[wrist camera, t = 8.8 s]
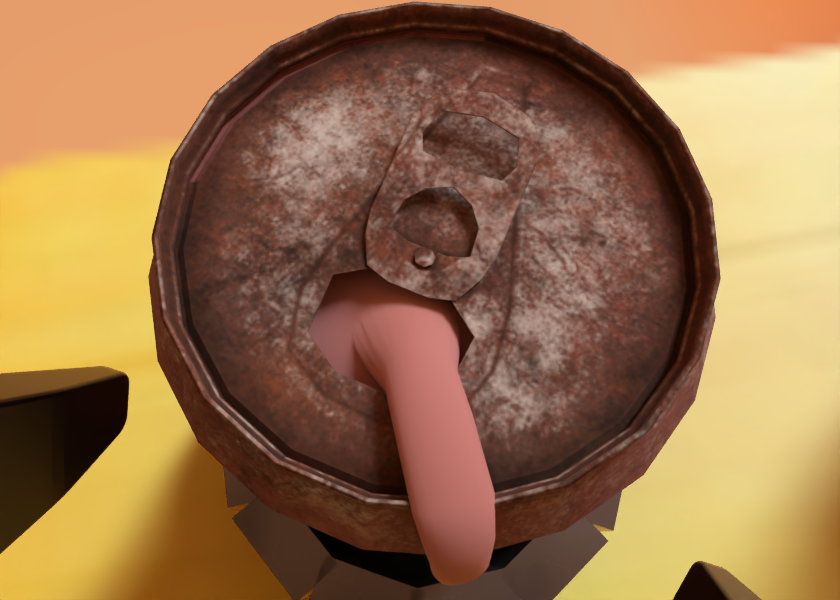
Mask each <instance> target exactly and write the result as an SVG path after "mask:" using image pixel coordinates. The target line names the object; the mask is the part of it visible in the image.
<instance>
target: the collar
mask: <svg viewBox="0 0 840 600" xmlns="http://www.w3.org/2000/svg"><path fill="white" fill-rule="evenodd" d="M224 475H225V485H226V495H227V504H228V508H232V509H237V510H241V511H240V512H239V513H238V514H237V515H236V516H234V517H233V518H232V519H233V520H234V522H235V523H236V524H237V526H238V527H239V528H240V530H241V531H242V532H243V534H244V535H245V536H246V538H247V539H248V540H249V542H250V543H251V544H252V546H253V547H254V548H255V550H256V551H257V552H258V554H259V555H260V556H261V558H262V559H263V560H264V562H265V563H266V564H267V565H268V567H269V568H270V569H271V571H272V572H273V573H274V575H275V576H276V577H277V579H278V580H279V581H280V583H281V584H282V585H283V587H284V588H285V589H286V591H287V592H288V593H289V595H290V596H291V597H292V599H293V600H302V599H304V598H306V597H308V596H309V595H311V597H310V600H553V599H554V598H555V597H556V596H557V595H558V594H559V593H560V591H561V590H562V589H563V588H564V587H565V586H566V585H567V584H568V583H569V582H570V581H571V580H572V579H573V578H574V577H575V576H576V574H577V573H578V572H579V571H580V570H581V569H582V568H583V567H584V566H585V565H586V564H587V563H588V562H589V561H590V560H591V559H592V558H593V556H594V555H595V554H596V553H597V552H598V551H599V550H600V549H601V548H602V547H603V546H604V545H605V544H606V543H607V542H608V540H607V539H606V538H605V537H604V536H603V535H602V534H601V533H600V532H599V531H613V530H614V526H615V521H616V516H617V511H618V506H619V502H620V497H621V492H622V490H621V491H620V492H618V493H617V494H616V495H614V496H613V497H611V498H610V499H609V500H607V501H606V502H604V503H603V504H601V505H600V506H599V507H597V508H596V509H594V510H593V511H591V512H590V513H589V514H587V515H586V516H584V517H583V518H581V519H580V520H579V521H577V522H576V523H574V524H573V525H571V526H570V527H569V528H567V529H566V530H564V531H561V532H557V533H553V534H550V535H546V536H542V537H539V538H535V539H531V540H528V541H524V542H520V543H517V544H513V545H509V546H506V547H502V548H498V549H495V550H493V551H492V555H491V560H490V563H489V566H488V568H487V569H486V571H485V572H484V573H483V574H482V575H481V576H479V577H478V578H476V579H474V580H472V581H469V582H466V583H462V584H458V585H446V584H443V583H441V582H440V581H438V580H437V579H436V578H435V577H434V575H433V574H432V571H431V568H430V563H429V561H428V558H427V556H426V554H416V553H402V552H389V551H375V550H362V549H360V548H358V547H355V546H353V545H351V544H349V543H346V542H344V541H342V540H339V539H337V538H335V537H333V536H330V535H328V534H326V533H323V532H321V531H319V530H317V529H314V528H312V527H310V526H307V525H305V524H303V523H301V522H298V521H296V520H294V519H291V518H289V517H287V516H285V515H282V514H280V513H278V512H275V511H273V510H271V509H269V508H268V507H267V506H266V505H265V504H263V503H262V502H261V501H260V500H259V499H258V498H257V497H256V496H255V495H254V494H253V493H252V492H251V491H250V490H249V489H248V488H247V487H245V486H244V485H243V484H242V483H241V482H240V481H239V480H238V479H237V478H236V477H235V476H234V475H233V474H232V473H231V472H230V471H228V470H227V469H226V468H225V467H224Z"/></svg>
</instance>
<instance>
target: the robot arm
mask: <svg viewBox="0 0 840 600" xmlns="http://www.w3.org/2000/svg"><path fill="white" fill-rule="evenodd" d="M128 395H129V378H128V376H127V375H126V374H125V373H124V372H121V371H118V370H115V369H112V368H109V367H104V366H98V367H84V368H70V369H56V370H42V371H29V372H15V373H1V374H0V554H1V553H2V552H3V551H4V550H5V549H6V548H7V547H9V546H10V545H11V544H12V543H13V542H14V541H15V540H16V539H17V538H18V537H20V536H21V535H22V534H23V533H24V532H25V531H26V530H27V529H28V528H30V527H31V526H32V525H33V524H34V523H35V522H36V521H37V520H38V519H39V518H41V517H42V516H43V515H44V514H45V513H46V512H47V511H48V510H49V509H51V508H52V507H53V506H54V505H55V504H56V503H57V502H58V501H59V500H60V499H61V498H62V497H63V496H64V495H65V494H66V493H67V492H68V491H69V490H70V489H71V488H72V487H73V486H74V485H75V483H76V482H77V481H78V480H79V479H80V478H81V477H82V475H83V474H84V473H85V472H86V471H87V470H88V469H89V468H90V466H91V465H92V464H93V463H94V462H95V461H96V460H97V459H98V457H99V456H100V455H101V454H102V453H103V452H104V451H105V450H106V448H107V447H108V446H109V445H110V444H111V443H112V442H113V441H114V439H115V438H116V437H117V436H118V435H119V434H120V432H121V431H122V429H123V427H124V425H125V423H126V419H127V411H128ZM673 600H761V599H760V598H759V597H758V596H757V595H756V594H754V593H753V592H752V591H751V590H750V589H748V588H747V587H746V586H745V585H744V584H743V583H741V582H740V581H739V580H738V579H737V578H735V577H734V576H733V575H732V574H731V573H730V572H728V571H727V570H725V569H724V568H722V567H719V566H715V565H712V564H709V563H706V562H703V561H698V562H695V563H694V564H693V565H692V566H691V568H690V570H689V571H688V573H687V575H686V577H685V579H684V580H683V582H682V584H681V586H680V588H679V589H678V591H677V593H676V595H675V596H674V599H673Z"/></svg>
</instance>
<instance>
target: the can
mask: <svg viewBox="0 0 840 600" xmlns="http://www.w3.org/2000/svg"><path fill="white" fill-rule="evenodd" d="M152 245H153V253H154V256H153V260H152V264H151V268H150V272H149V286H150V295H151V304H152V313H153V322H154V331H155V340H156V349H157V358H158V362H159V364H160V366H161V368H162V370H163V372H164V374H165V376H166V378H167V380H168V382H169V384H170V386H171V388H172V390H173V392H174V394H175V396H176V398H177V400H178V402H179V404H180V406H181V408H182V410H183V412H184V414H185V416H186V418H187V420H188V422H189V424H190V426H191V428H192V430H193V432H194V434H195V436H196V438H197V440H198V442H199V443H200V444H201V445H202V446H203V447H204V448H205V449H206V450H207V451H208V452H209V453H210V454H212V455H213V456H214V457H215V458H216V459H217V460H218V461H219V462H220V463H221V464H222V465H223V466H224V467H225V468H226V469H227V470H228V471H230V472H231V473H232V474H233V475H234V476H235V477H236V478H237V479H238V480H239V481H240V482H241V483H242V484H243V485H244V486H245V487H247V488H248V489H249V490H250V491H251V492H252V493H253V494H254V495H255V496H256V497H257V498H258V499H259V500H260V501H261V502H262V503H263V504H265V505H266V506H267V507H268V508H269V509H271V510H273V511H275V512H278V513H280V514H282V515H285V516H287V517H289V518H291V519H294V520H296V521H298V522H301V523H303V524H305V525H307V526H310V527H312V528H314V529H317V530H319V531H321V532H323V533H326V534H328V535H330V536H333V537H335V538H337V539H339V540H342V541H344V542H346V543H349V544H351V545H353V546H355V547H358V548H360V549H362V550H375V551H389V552H402V553H416V554H426V556H427V558H428V561H429V563H430V568H431V571H432V574H433V575H434V577H435V578H436V579H437V580H438V581H440V582H441V583H443V584H446V585H458V584H462V583H466V582H469V581H472V580H474V579H476V578H478V577H479V576H481V575H482V574H483V573H484V572H485V571H486V569H487V568H488V566H489V563H490V560H491V555H492V551H493V550H495V549H498V548H502V547H506V546H509V545H513V544H517V543H520V542H524V541H528V540H531V539H535V538H539V537H542V536H546V535H550V534H553V533H557V532H561V531H564V530H566V529H567V528H569V527H570V526H571V525H573V524H574V523H576V522H577V521H579V520H580V519H581V518H583V517H584V516H586V515H587V514H589V513H590V512H591V511H593V510H594V509H596V508H597V507H599V506H600V505H601V504H603V503H604V502H606V501H607V500H609V499H610V498H611V497H613V496H614V495H616V494H617V493H618V492H620V491H621V490H623V489H624V488H626V487H627V486H628V485H630V484H631V483H633V482H634V481H636V480H637V479H638V478H640V477H641V476H643V475H644V473H645V472H646V471H647V469H648V468H649V466H650V465H651V463H652V462H653V460H654V459H655V457H656V456H657V455H658V453H659V452H660V450H661V449H662V447H663V446H664V444H665V443H666V441H667V440H668V439H669V437H670V436H671V434H672V433H673V431H674V430H675V428H676V427H677V425H678V424H679V423H680V421H681V420H682V418H683V417H684V415H685V414H686V412H687V411H688V409H689V408H690V407H691V405H692V404H693V402H694V401H695V397H696V393H697V389H698V385H699V381H700V378H701V374H702V370H703V366H704V362H705V358H706V354H707V350H708V346H709V342H710V338H711V334H712V330H713V326H714V322H715V308H714V302H715V298H716V294H717V290H718V286H719V282H720V269H719V259H718V250H717V241H716V231H715V222H714V212H713V203H712V198H711V196H710V194H709V191H708V189H707V187H706V185H705V183H704V181H703V179H702V176H701V174H700V172H699V170H698V168H697V166H696V163H695V161H694V159H693V157H692V155H691V153H690V151H689V148H688V146H687V144H686V142H685V140H684V138H683V136H682V133H681V131H680V129H679V128H678V127H677V126H676V125H675V123H674V122H673V121H672V120H671V119H670V118H669V117H668V116H667V115H666V113H665V112H664V111H663V110H662V109H661V108H660V107H659V106H658V105H657V103H656V102H655V101H654V100H653V99H652V98H651V97H650V96H649V95H648V93H647V92H646V91H645V90H644V89H643V88H642V87H641V86H640V85H639V83H638V82H637V81H636V80H635V79H634V78H633V77H632V76H631V75H630V73H629V72H628V71H626V70H624V69H623V68H621V67H620V66H618V65H616V64H615V63H613V62H612V61H610V60H609V59H607V58H606V57H604V56H602V55H601V54H599V53H598V52H596V51H594V50H593V49H591V48H590V47H588V46H587V45H585V44H583V43H582V42H580V41H579V40H577V39H576V38H574V37H572V36H571V35H569V34H568V33H566V32H565V31H563V30H560V29H556V28H553V27H550V26H547V25H544V24H541V23H538V22H535V21H532V20H529V19H526V18H523V17H520V16H516V15H513V14H510V13H507V12H504V11H501V10H498V9H495V8H492V7H481V6H468V5H455V4H454V5H453V4H440V3H426V2H410V3H404V4H398V5H393V6H386V7H381V8H375V9H369V10H364V11H358V12H353V13H346V14H341V15H338V16H335V17H333V18H331V19H329V20H327V21H324V22H322V23H320V24H318V25H316V26H313V27H311V28H309V29H307V30H305V31H302V32H300V33H298V34H296V35H294V36H291V37H289V38H287V39H285V40H282V41H280V42H278V43H276V44H274V45H271V46H270V47H269V48H267V49H266V50H265V51H264V52H263V53H261V54H260V55H259V56H258V57H257V58H255V59H254V60H253V61H252V62H251V63H249V64H248V65H247V66H246V67H245V68H244V69H243V70H241V71H240V72H239V73H238V74H236V75H235V76H234V77H233V78H232V79H231V80H229V81H228V82H227V83H226V84H225V85H223V86H222V87H221V88H220V89H219V90H217V91H216V92H215V93H214V94H213V95H212V96H211V97H210V99H209V100H208V102H207V104H206V105H205V107H204V108H203V110H202V111H201V113H200V115H199V116H198V118H197V119H196V121H195V122H194V124H193V125H192V127H191V129H190V130H189V132H188V133H187V135H186V136H185V138H184V139H183V141H182V143H181V144H180V146H179V147H178V149H177V150H176V152H175V154H174V155H173V157H172V158H171V160H170V164H169V168H168V172H167V176H166V180H165V184H164V188H163V192H162V196H161V200H160V205H159V209H158V213H157V217H156V221H155V225H154V229H153V233H152Z"/></svg>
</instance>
